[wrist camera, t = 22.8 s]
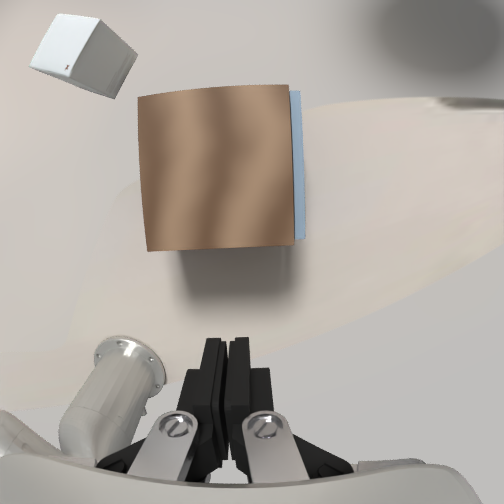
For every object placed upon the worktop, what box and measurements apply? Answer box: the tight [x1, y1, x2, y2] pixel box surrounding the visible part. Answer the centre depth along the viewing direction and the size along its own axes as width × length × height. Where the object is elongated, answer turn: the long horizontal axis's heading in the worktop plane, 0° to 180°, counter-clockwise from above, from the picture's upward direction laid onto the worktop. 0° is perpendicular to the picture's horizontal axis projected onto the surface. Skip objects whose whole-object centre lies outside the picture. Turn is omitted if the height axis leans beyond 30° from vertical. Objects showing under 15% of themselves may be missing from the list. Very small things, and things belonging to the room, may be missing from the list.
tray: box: [289, 91, 305, 239], centre depth 32 cm, size 14×15×9 cm
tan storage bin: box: [138, 85, 294, 252], centre depth 32 cm, size 14×15×12 cm
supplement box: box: [29, 14, 138, 99], centre depth 28 cm, size 7×7×13 cm
